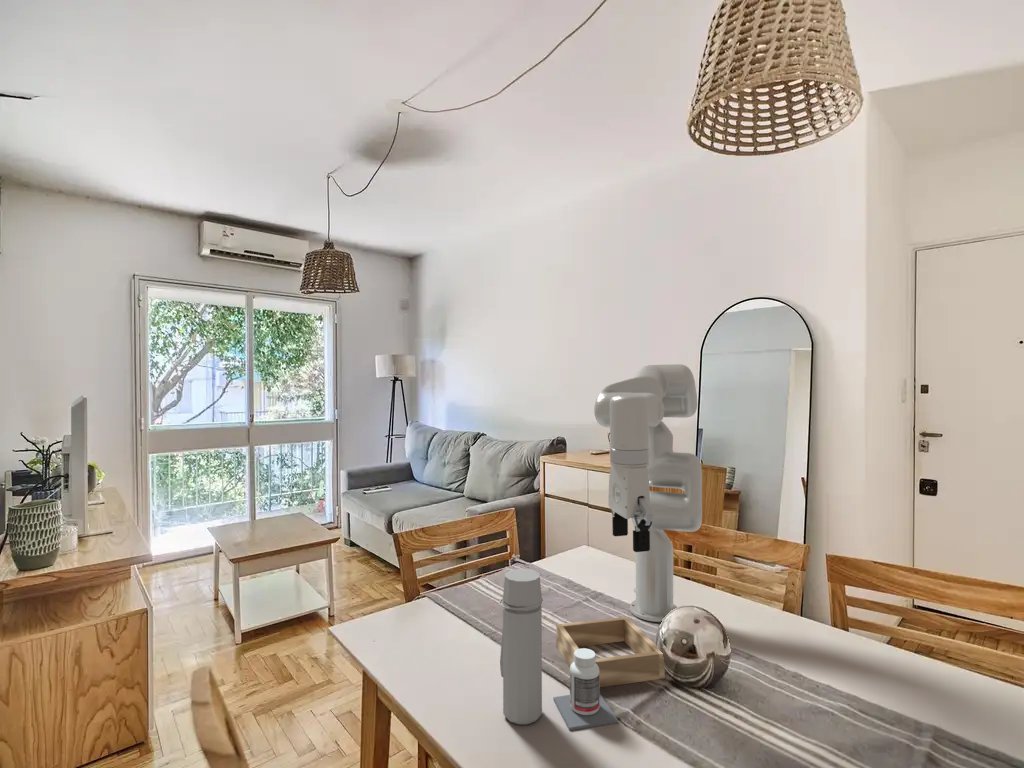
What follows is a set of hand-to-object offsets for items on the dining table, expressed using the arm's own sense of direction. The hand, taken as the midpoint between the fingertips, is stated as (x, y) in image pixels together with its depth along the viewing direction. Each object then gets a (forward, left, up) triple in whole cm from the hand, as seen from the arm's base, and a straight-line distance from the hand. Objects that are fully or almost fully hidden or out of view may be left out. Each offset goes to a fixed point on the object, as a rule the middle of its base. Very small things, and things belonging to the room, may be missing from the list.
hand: (630, 542), depth 102 cm
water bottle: (+3, -24, -28) cm, 37 cm away
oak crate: (-9, -1, -28) cm, 30 cm away
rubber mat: (+6, -12, -28) cm, 31 cm away
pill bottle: (+5, -12, -28) cm, 31 cm away
